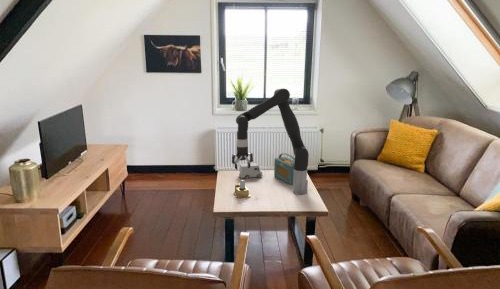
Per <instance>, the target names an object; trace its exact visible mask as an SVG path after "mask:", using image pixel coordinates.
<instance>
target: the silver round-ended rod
mask: <svg viewBox="0 0 500 289" xmlns="http://www.w3.org/2000/svg"><path fill="white" fill-rule="evenodd" d="M239 184H240V190H245V187H246V180H244V179H240V180H239Z"/></svg>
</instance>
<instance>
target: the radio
mask: <svg viewBox="0 0 500 289" xmlns="http://www.w3.org/2000/svg"><path fill="white" fill-rule="evenodd" d="M284 155H285V156H284ZM289 157H290V158H289ZM294 164H295V156H293V155H291V154H289V153H280V154H279V155H278V157H275V158H274V167H273V169H274V173H273V176H274V177H276V178H277V179H279V180H281V181H283V182H285V183H286V184H289V185H290V186H291V185H292V186H293V177H294Z"/></svg>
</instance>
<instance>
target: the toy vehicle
mask: <svg viewBox="0 0 500 289" xmlns="http://www.w3.org/2000/svg"><path fill="white" fill-rule="evenodd" d="M238 176H239V178H241V179H244V178H245V179H249V178H261V177H262V176H263V171H261V169H260V166H259V164H258V163H257V162H251V163H250V168H248V164H247V163H239V173H238Z"/></svg>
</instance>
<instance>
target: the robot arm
mask: <svg viewBox="0 0 500 289" xmlns="http://www.w3.org/2000/svg"><path fill="white" fill-rule="evenodd" d="M290 98H291V93H290V91H289V89H287V88H284V87H281V88H279V87H278V88H276V89H275V90H274V91H273V96H271V97H269V98H268V99H266V100H265V101H263V102H261V103H258V104H257V105H254V107H251V108H250V109H249V110H247V111H244V112H242V113H241V114H239V115H237V117H236V119H235V123H236V124H237V131H236V154H232V155H231V163H232V164H233V165H234V169H235V170H236V171H237V170H238V163H239V162H242V161H247V163H246V164H248V168H250V163H254V156H253V155H254V154H253V153H252V152H249V140H248V137H249V136H248V130H249V122H250V121H252V120H256V119H257V118H259V117H260V116H262V115H264V114H265V113H266V112H268V111H270V110H271V109H273V108H274V107H278V109H279V113H280V116H281V119H282V121H283V126H284V129H285V130H286V133H287V136H288V138H289V140H290V142H291V145H292V151H293V155H294V158H295V164H294V177H293V185H292V193H293V194H294V195H297V196H298V195H299V196H303V195H306V194H307V193H308V186H309V185H308V182H309V181H308V166H309V155H310V154H309V150H308V149H307V148H306V146H305V144H304V141H303V140H302V135H301V129H300V126H299V125H300V124H299V122H298V119H297V116H296V115H295V113H294V111H293V109H291V108H292V107H291V106H290V102H289V99H290ZM248 157H249V158H248Z"/></svg>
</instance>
